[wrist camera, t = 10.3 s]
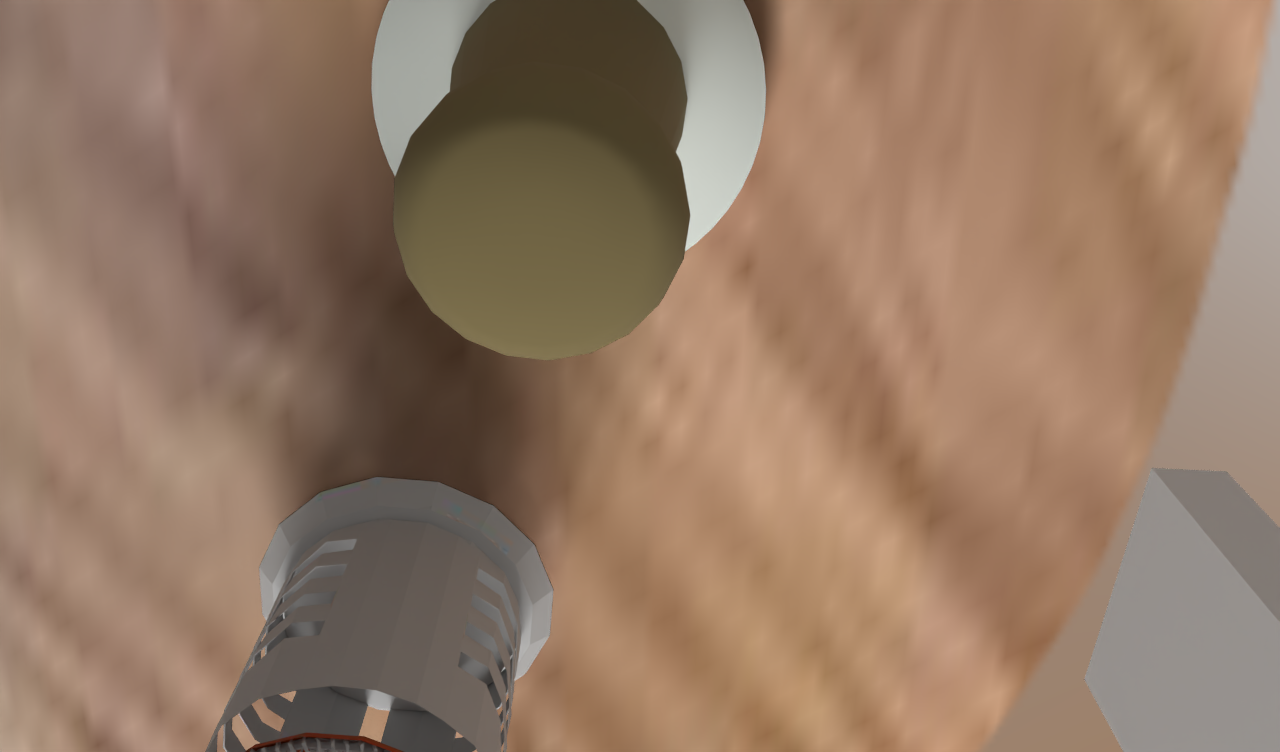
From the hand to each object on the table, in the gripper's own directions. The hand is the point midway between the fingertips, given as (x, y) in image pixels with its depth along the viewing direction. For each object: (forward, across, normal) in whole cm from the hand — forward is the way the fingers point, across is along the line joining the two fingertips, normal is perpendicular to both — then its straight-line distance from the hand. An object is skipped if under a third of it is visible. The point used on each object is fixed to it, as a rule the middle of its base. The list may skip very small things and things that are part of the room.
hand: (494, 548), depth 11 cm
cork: (+19, 0, 0) cm, 19 cm away
